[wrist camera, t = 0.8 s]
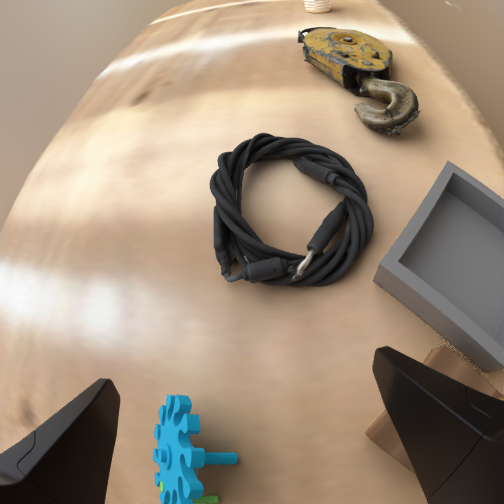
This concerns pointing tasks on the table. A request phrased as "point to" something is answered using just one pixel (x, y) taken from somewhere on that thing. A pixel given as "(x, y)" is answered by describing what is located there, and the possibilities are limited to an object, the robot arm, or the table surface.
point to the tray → (454, 266)
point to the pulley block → (362, 74)
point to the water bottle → (317, 6)
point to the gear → (182, 454)
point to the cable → (315, 262)
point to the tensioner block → (447, 365)
